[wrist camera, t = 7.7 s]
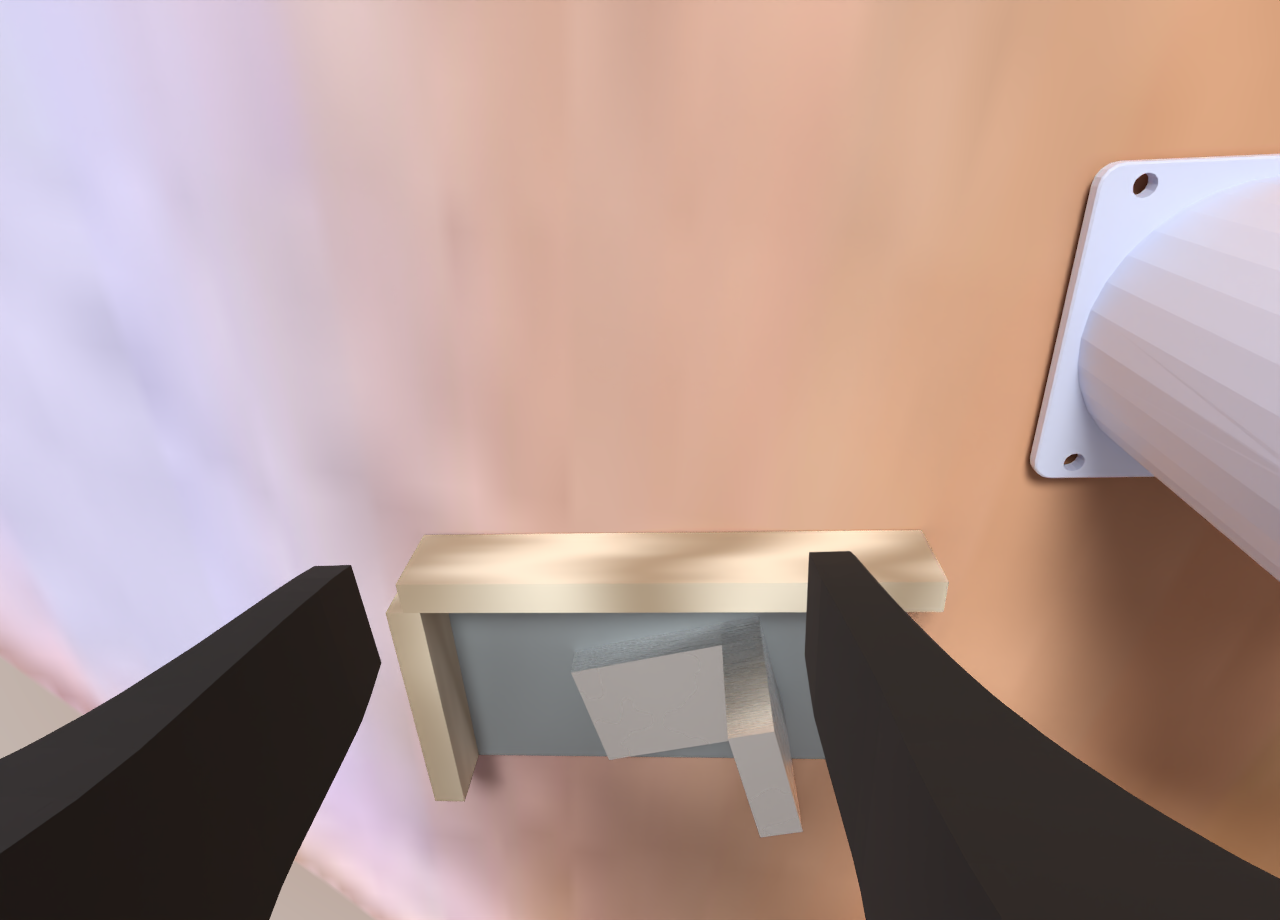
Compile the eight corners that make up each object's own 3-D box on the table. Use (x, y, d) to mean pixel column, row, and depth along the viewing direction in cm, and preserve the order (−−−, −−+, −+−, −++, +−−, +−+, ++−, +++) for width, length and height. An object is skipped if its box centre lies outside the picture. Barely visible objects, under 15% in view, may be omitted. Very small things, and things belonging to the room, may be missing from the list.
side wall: (445, 561, 23) (419, 612, 21) (482, 741, 27) (464, 801, 24) (414, 561, 23) (385, 613, 21) (456, 741, 27) (435, 801, 24)
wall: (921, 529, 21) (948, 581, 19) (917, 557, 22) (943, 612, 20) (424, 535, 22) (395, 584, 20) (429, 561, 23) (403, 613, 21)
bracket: (758, 615, 22) (774, 731, 18) (783, 707, 24) (802, 831, 20) (575, 650, 24) (552, 766, 20) (611, 736, 25) (598, 858, 21)
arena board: (900, 558, 22) (905, 569, 21) (873, 745, 26) (877, 759, 25) (445, 561, 23) (439, 572, 22) (482, 741, 27) (478, 754, 26)
